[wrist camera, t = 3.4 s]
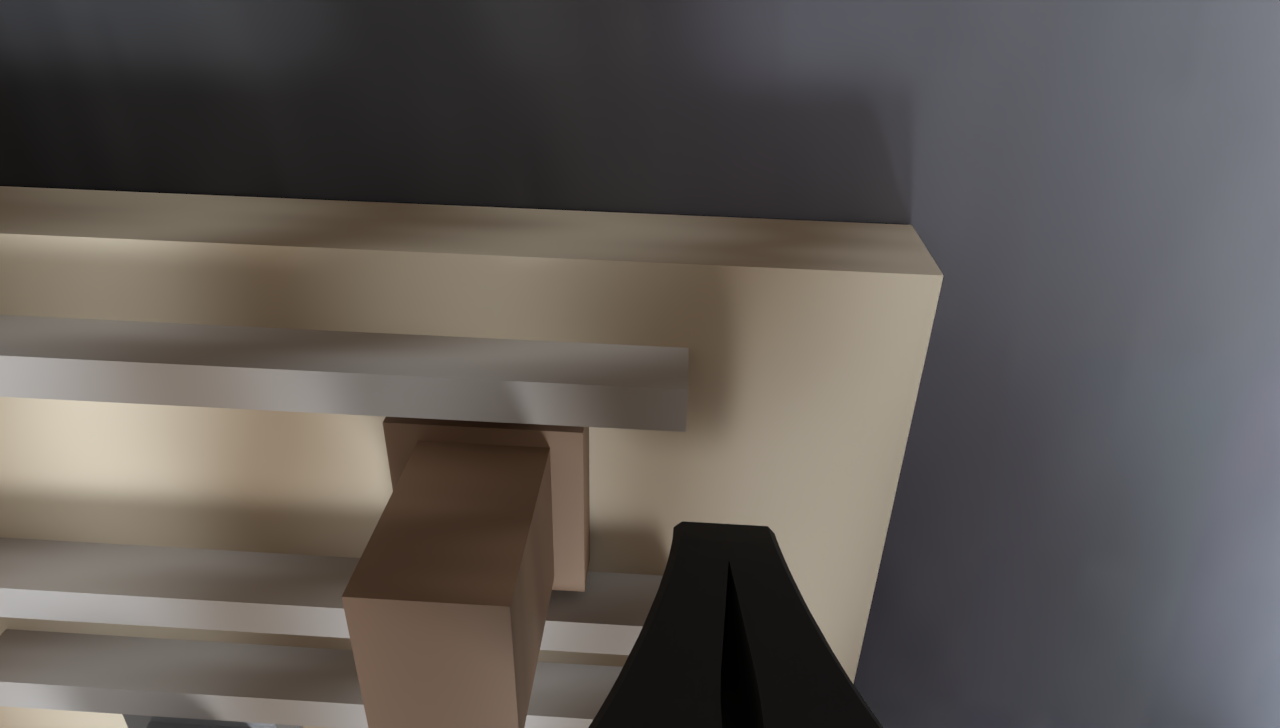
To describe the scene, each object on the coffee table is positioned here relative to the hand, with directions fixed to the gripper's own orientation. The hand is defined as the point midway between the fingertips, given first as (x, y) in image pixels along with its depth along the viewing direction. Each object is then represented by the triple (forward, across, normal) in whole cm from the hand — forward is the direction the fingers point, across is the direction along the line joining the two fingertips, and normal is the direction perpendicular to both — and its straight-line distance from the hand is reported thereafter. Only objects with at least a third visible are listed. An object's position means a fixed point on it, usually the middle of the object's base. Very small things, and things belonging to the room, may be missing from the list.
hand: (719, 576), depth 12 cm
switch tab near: (+2, +4, 0) cm, 4 cm away
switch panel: (+4, +7, +4) cm, 9 cm away
